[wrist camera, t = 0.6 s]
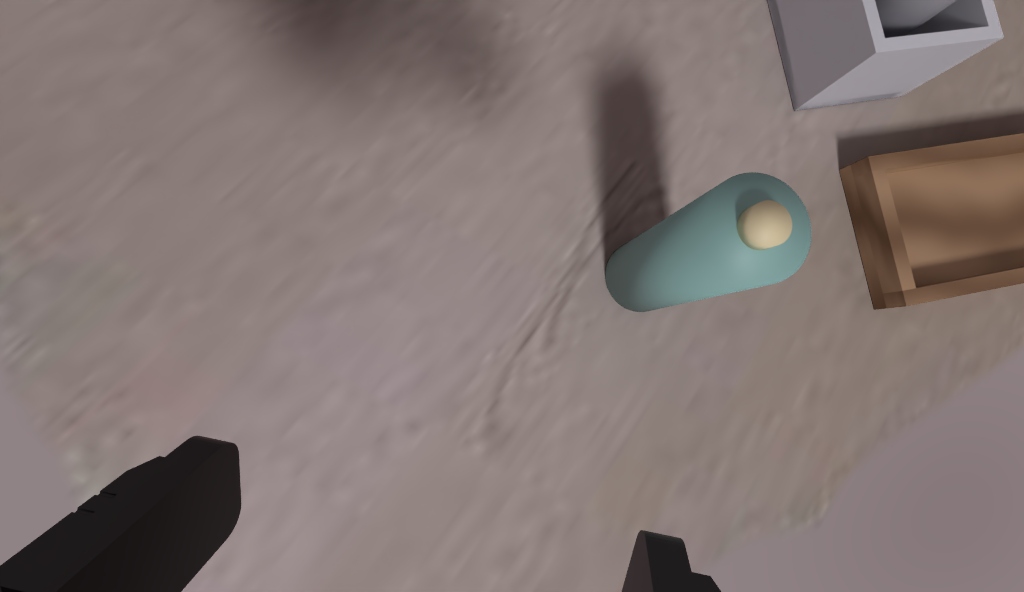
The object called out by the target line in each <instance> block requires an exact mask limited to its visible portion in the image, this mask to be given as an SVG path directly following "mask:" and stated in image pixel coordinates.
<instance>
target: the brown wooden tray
mask: <svg viewBox="0 0 1024 592" xmlns="http://www.w3.org/2000/svg"><path fill="white" fill-rule="evenodd" d="M839 171H840V175H841V179H842V183H843V187H844V191H845V195H846V199H847V203H848V207H849V211H850V215H851V219H852V223H853V227H854V231H855V235H856V239H857V243H858V247H859V251H860V255H861V259H862V263H863V267H864V271H865V275H866V279H867V282H868V286H869V290H870V294H871V298H872V302H873V306H874V309H884V308H894V307H903V306H910V305H915V304H920V303H925V302H930V301H935V300H940V299H945V298H950V297H955V296H960V295H966V294H971V293H976V292H981V291H986V290H991V289H996V288H1001V287H1006V286H1011V285H1016V284H1021V283H1024V133H1021V134H1014V135H1007V136H1001V137H994V138H987V139H981V140H974V141H967V142H961V143H954V144H947V145H941V146H934V147H927V148H921V149H914V150H907V151H901V152H894V153H887V154H881V155H874V156H868V157H866V158H864V159H862V160H859V161H857V162H855V163H853V164H851V165H849V166H847V167H845V168H843V169H840V170H839Z"/></svg>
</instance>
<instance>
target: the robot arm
mask: <svg viewBox="0 0 1024 592" xmlns="http://www.w3.org/2000/svg"><path fill="white" fill-rule="evenodd" d="M240 510H241V488H240V468H239V451H238V447H237V446H236V445H235V444H234V443H231V442H226V441H221V440H216V439H212V438H207V437H202V436H193V437H191V438H189V439H188V440H186V441H185V442H184V443H182V444H181V445H180V446H179V447H177V448H176V449H175V450H174V451H172V452H171V453H170V454H168V455H167V456H166V457H161V456H159V457H156V458H154V459H152V460H150V461H148V462H146V463H143V464H141V465H139V466H137V467H135V468H132V469H130V470H128V471H126V472H125V473H124V474H122V475H121V476H120V477H118V478H117V479H116V480H114V481H113V482H112V483H110V484H109V485H108V486H106V487H105V488H104V489H102V490H101V491H100V494H99V495H94V496H93V497H91V498H90V499H89V500H87V501H86V502H85V503H83V504H82V505H81V506H79V507H78V509H77V511H76V512H75V513H73V512H71V513H70V514H69V515H67V516H66V517H65V518H63V519H62V520H61V521H59V522H58V523H57V524H55V525H54V526H53V527H52V528H50V529H49V530H47V531H46V532H45V533H43V534H42V535H41V536H40V537H38V538H37V539H35V540H34V541H33V542H31V543H30V544H29V545H27V546H26V547H25V548H23V549H22V550H21V551H20V552H18V553H17V554H15V555H14V556H13V557H11V558H10V559H9V560H7V561H6V562H5V563H3V564H2V565H1V566H0V592H181V591H182V590H183V589H184V588H185V587H186V585H187V584H188V583H189V582H190V581H191V580H192V578H193V577H194V576H195V575H196V574H197V573H198V572H199V570H200V569H201V568H202V567H203V566H204V565H205V564H206V562H207V561H208V560H209V559H210V558H211V557H212V556H213V554H214V553H215V552H216V551H217V550H218V549H219V548H220V546H221V545H222V544H223V543H224V542H225V541H226V539H227V538H228V537H229V536H230V534H231V533H232V531H233V529H234V527H235V525H236V523H237V521H238V518H239V515H240ZM622 592H721V591H720V589H719V588H718V587H717V585H716V584H715V582H714V581H713V579H712V578H711V576H707V575H703V574H698V573H693V572H691V568H690V564H689V560H688V556H687V552H686V548H685V544H684V542H683V540H682V539H681V538H677V537H672V536H667V535H662V534H658V533H653V532H648V531H643V530H641V531H640V532H639V533H638V536H637V539H636V542H635V546H634V549H633V553H632V557H631V560H630V564H629V567H628V571H627V575H626V578H625V582H624V585H623V589H622Z"/></svg>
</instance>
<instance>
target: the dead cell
mask: <svg viewBox="0 0 1024 592" xmlns="http://www.w3.org/2000/svg"><path fill="white" fill-rule="evenodd" d="M955 1H956V0H875V2H876V6H877V10H878V14H879V17H880V21H881V25H882V29H883V32H884V36H885V38H891V37H900V36H906V35H908V34H909V33H911V32H912V31H914V30H915V29H916V28H918V27H919V26H921V25H922V24H924V23H925V22H926V21H928V20H929V19H931V18H932V17H934V16H935V15H936V14H938V13H939V12H941V11H942V10H944V9H945V8H946V7H948V6H949V5H951V4H952V3H954V2H955Z"/></svg>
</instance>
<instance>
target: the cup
mask: <svg viewBox="0 0 1024 592" xmlns="http://www.w3.org/2000/svg"><path fill="white" fill-rule="evenodd" d="M767 1H768V5H769V10H770V14H771V18H772V22H773V26H774V30H775V34H776V38H777V42H778V46H779V50H780V54H781V58H782V63H783V67H784V71H785V75H786V79H787V83H788V87H789V91H790V95H791V99H792V103H793V107H794V111H796V110H804V109H811V108H819V107H826V106H834V105H841V104H849V103H856V102H864V101H871V100H879V99H886V98H894V97H901V96H903V95H904V94H906V93H908V92H910V91H911V90H913V89H915V88H917V87H918V86H920V85H922V84H924V83H925V82H927V81H929V80H931V79H932V78H934V77H936V76H938V75H939V74H941V73H943V72H944V71H946V70H948V69H950V68H951V67H953V66H955V65H957V64H958V63H960V62H962V61H964V60H965V59H967V58H969V57H971V56H972V55H974V54H976V53H978V52H979V51H981V50H983V49H985V48H986V47H988V46H990V45H992V44H993V43H995V42H997V41H999V40H1000V39H1002V38H1004V36H1003V33H1002V29H1001V26H1000V22H999V19H998V15H997V12H996V8H995V5H994V1H993V0H956V1H955V2H954V3H952V4H951V5H949V6H948V7H946V8H945V9H944V10H942V11H941V12H939V13H938V14H936V15H935V16H934V17H932V18H931V19H929V20H928V21H926V22H925V23H924V24H922V25H921V26H919V27H918V28H916V29H915V30H914V31H912V32H911V33H909V34H908V35H906V36H900V37H891V38H885V36H884V32H883V29H882V25H881V21H880V17H879V14H878V10H877V6H876V2H875V0H767Z"/></svg>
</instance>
